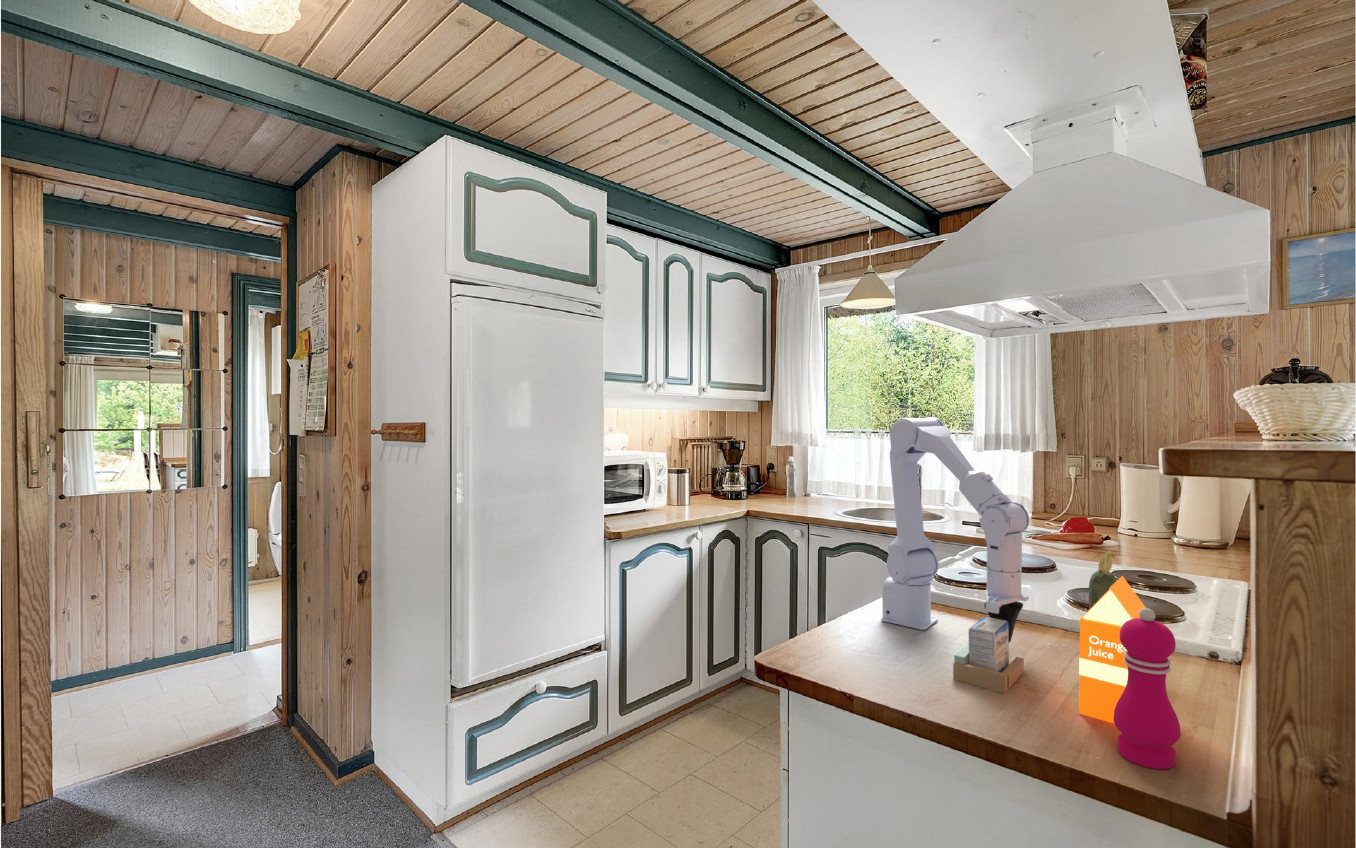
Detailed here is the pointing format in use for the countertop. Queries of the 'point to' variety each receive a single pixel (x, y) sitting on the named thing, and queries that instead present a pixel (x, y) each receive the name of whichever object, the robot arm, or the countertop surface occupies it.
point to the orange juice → (1105, 651)
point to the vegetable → (1101, 579)
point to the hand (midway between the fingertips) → (1003, 641)
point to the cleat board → (985, 672)
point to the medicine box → (989, 644)
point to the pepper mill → (1147, 694)
